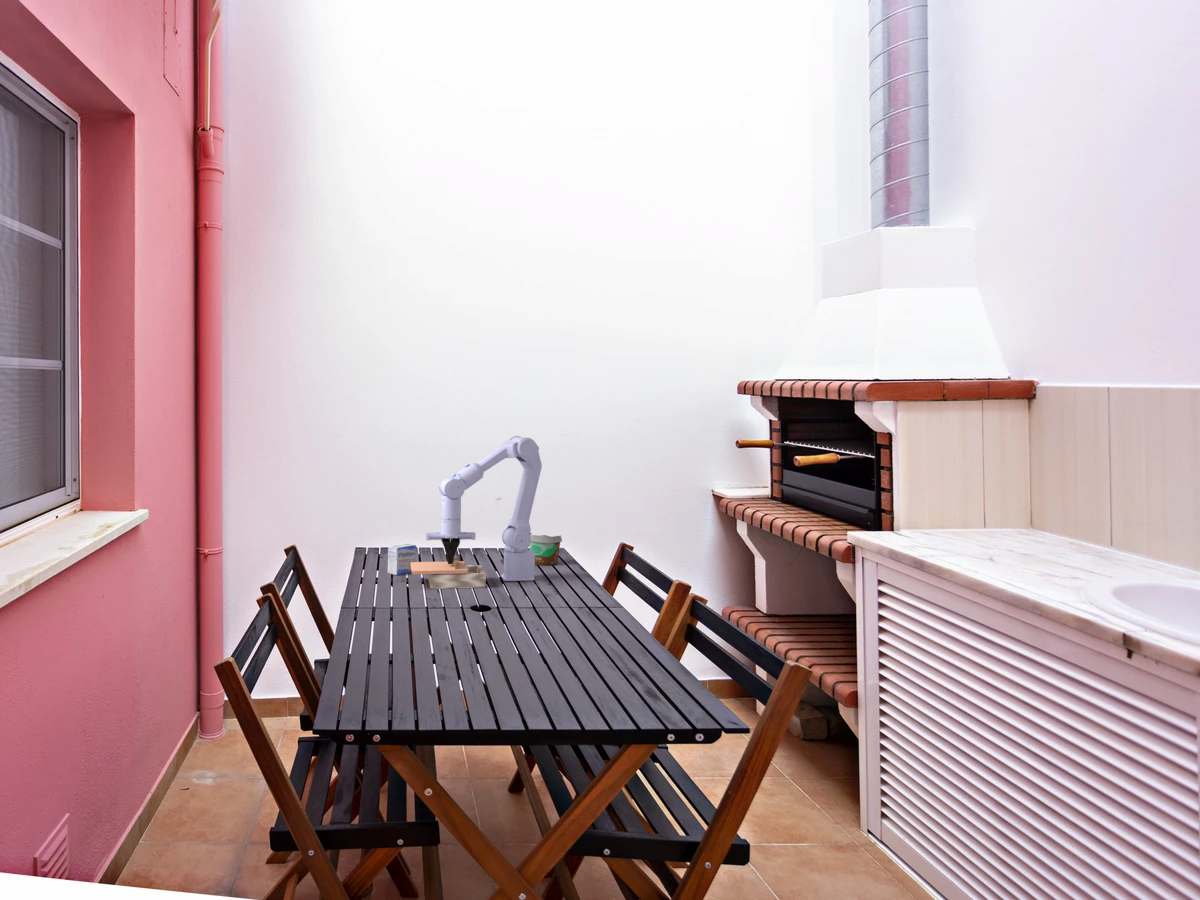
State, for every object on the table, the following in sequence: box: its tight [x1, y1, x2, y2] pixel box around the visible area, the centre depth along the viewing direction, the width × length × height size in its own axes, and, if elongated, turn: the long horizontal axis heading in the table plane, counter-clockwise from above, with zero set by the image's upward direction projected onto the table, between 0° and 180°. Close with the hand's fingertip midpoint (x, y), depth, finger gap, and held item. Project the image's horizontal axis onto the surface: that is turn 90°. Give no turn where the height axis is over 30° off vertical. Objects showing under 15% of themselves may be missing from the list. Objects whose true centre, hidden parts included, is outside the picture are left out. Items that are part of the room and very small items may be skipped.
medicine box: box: [387, 543, 417, 576], centre depth 275 cm, size 8×4×9 cm, turn 143°
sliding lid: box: [410, 555, 468, 575], centre depth 262 cm, size 16×13×3 cm
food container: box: [529, 531, 563, 567], centre depth 295 cm, size 12×6×10 cm, turn 68°
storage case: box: [427, 564, 487, 590], centre depth 263 cm, size 16×13×4 cm
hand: (450, 563), depth 263 cm, fingers closed
